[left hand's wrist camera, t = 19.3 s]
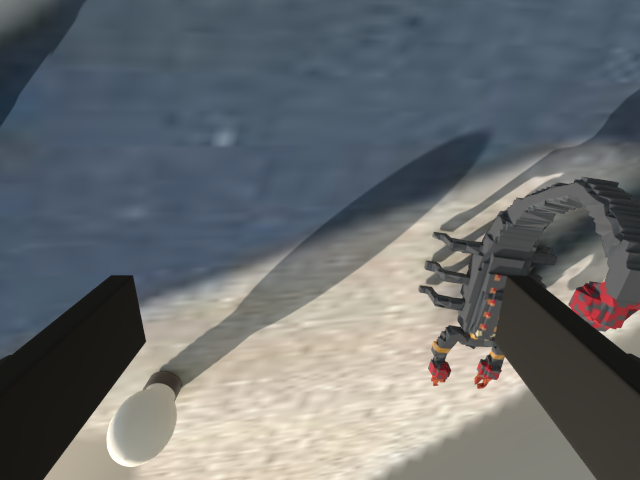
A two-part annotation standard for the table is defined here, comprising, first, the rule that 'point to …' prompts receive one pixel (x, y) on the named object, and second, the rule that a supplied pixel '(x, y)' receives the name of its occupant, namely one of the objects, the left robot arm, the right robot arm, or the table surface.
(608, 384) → the left robot arm
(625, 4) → the table surface
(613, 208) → the toy
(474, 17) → the table surface
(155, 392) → the light bulb
